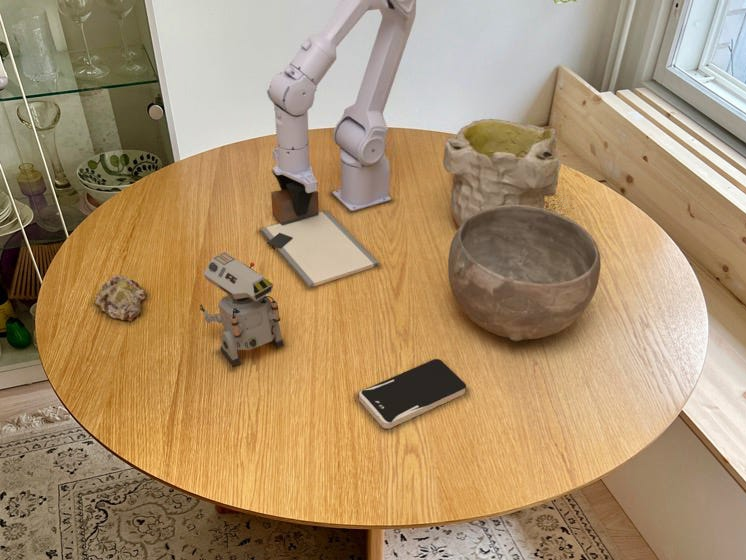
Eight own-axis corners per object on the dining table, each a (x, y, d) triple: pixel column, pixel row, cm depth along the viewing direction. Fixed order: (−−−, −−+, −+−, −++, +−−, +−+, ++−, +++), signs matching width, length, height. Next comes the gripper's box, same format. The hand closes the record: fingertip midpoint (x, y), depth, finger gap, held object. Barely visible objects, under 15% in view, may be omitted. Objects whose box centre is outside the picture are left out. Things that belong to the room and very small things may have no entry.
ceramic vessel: (429, 140, 154) (521, 54, 137) (508, 223, 161) (604, 151, 144) (396, 191, 138) (495, 101, 122) (484, 281, 145) (590, 208, 128)
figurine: (253, 314, 125) (245, 237, 115) (288, 352, 119) (283, 275, 108) (203, 333, 121) (190, 256, 111) (236, 374, 115) (226, 296, 104)
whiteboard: (326, 213, 148) (326, 209, 148) (378, 266, 136) (378, 262, 136) (261, 232, 143) (260, 228, 142) (309, 288, 131) (309, 284, 130)
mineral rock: (85, 281, 126) (129, 260, 127) (98, 299, 130) (140, 278, 131) (98, 320, 120) (144, 298, 121) (111, 338, 123) (156, 316, 124)
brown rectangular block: (309, 205, 149) (308, 182, 145) (318, 214, 146) (318, 191, 143) (272, 215, 146) (270, 192, 142) (281, 225, 143) (280, 202, 140)
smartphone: (468, 386, 113) (385, 424, 107) (467, 393, 114) (385, 431, 108) (438, 357, 117) (357, 392, 111) (437, 363, 118) (356, 398, 112)
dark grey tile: (279, 233, 141) (279, 232, 141) (292, 238, 140) (292, 237, 140) (267, 243, 139) (267, 242, 138) (280, 248, 138) (280, 247, 138)
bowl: (491, 382, 116) (505, 305, 105) (413, 294, 131) (419, 219, 120) (613, 337, 124) (637, 262, 113) (527, 260, 139) (542, 187, 129)
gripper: (255, 130, 138) (261, 196, 148) (290, 165, 130) (294, 232, 139) (290, 123, 141) (293, 187, 151) (326, 156, 132) (328, 222, 142)
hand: (296, 208), depth 145 cm, fingers closed on brown rectangular block, 4 cm apart
